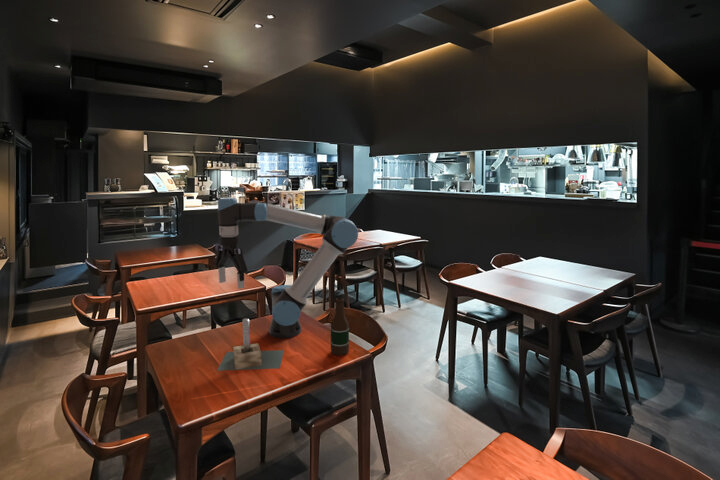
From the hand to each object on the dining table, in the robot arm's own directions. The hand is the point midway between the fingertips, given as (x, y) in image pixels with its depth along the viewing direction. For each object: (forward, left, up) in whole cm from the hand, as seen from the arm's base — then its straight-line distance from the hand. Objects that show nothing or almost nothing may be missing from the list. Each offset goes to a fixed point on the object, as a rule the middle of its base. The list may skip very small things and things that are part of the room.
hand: (231, 285), depth 167 cm
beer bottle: (-42, +19, -29) cm, 54 cm away
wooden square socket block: (-4, +15, -28) cm, 32 cm away
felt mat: (-6, +14, -29) cm, 32 cm away
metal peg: (-4, +15, -28) cm, 32 cm away
